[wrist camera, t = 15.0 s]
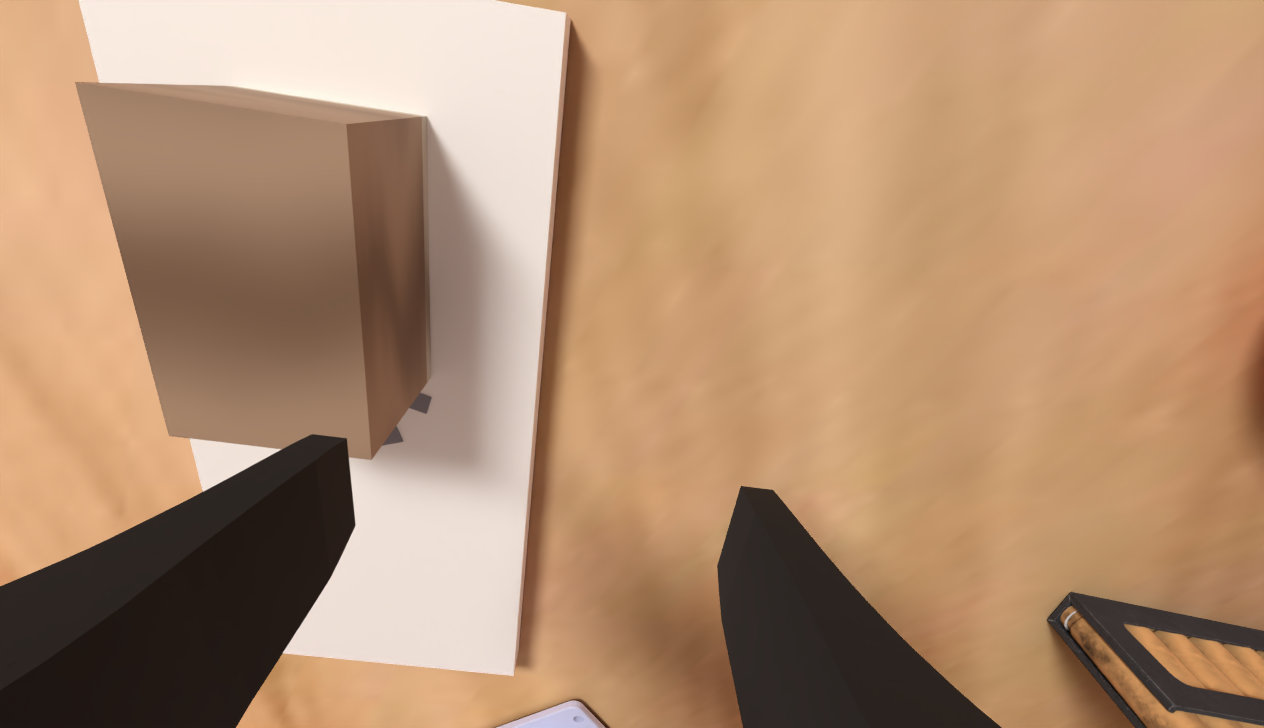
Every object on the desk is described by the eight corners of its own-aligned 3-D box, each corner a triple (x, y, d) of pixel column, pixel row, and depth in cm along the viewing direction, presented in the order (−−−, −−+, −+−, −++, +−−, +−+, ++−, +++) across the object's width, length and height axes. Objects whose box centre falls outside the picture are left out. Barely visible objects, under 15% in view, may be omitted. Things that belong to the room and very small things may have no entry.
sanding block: (430, 377, 18) (371, 460, 14) (276, 357, 18) (168, 436, 14) (427, 116, 15) (346, 123, 11) (235, 86, 14) (75, 82, 10)
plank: (518, 651, 26) (513, 676, 25) (259, 625, 26) (242, 650, 24) (570, 18, 15) (565, 12, 14) (103, -62, 14) (57, -75, 13)
